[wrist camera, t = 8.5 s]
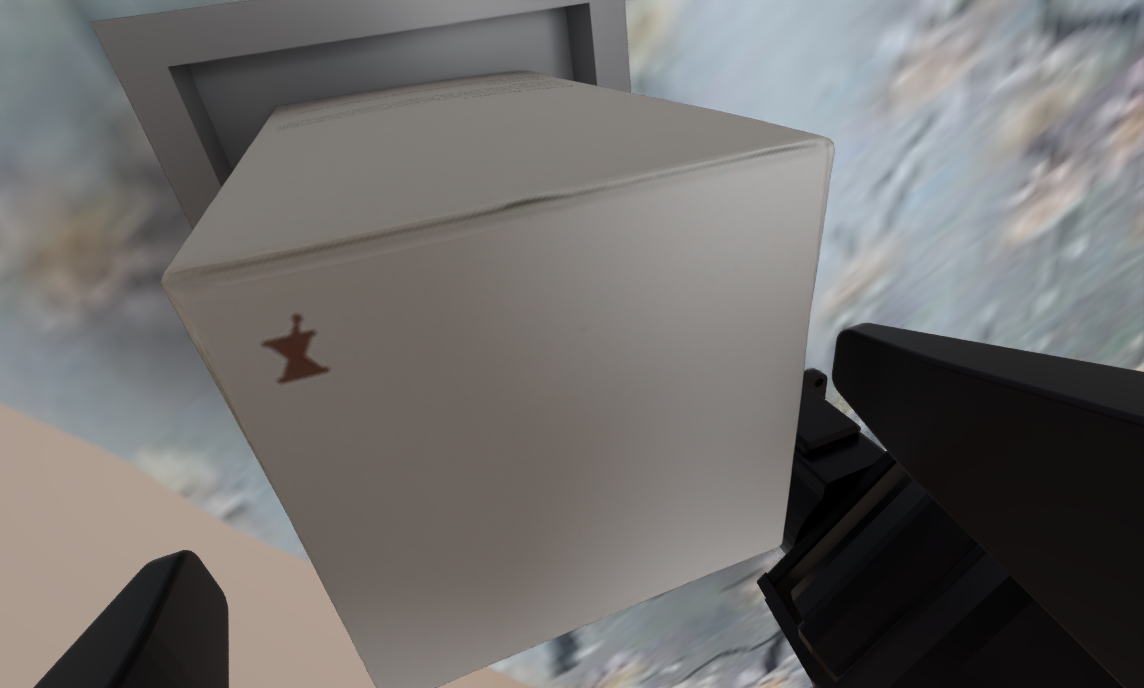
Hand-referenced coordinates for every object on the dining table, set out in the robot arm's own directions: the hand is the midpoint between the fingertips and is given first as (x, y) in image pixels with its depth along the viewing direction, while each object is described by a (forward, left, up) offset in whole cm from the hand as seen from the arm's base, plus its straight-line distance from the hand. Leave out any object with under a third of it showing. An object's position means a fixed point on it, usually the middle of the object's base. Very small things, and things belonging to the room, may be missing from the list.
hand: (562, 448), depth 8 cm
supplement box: (0, 0, -12) cm, 12 cm away
